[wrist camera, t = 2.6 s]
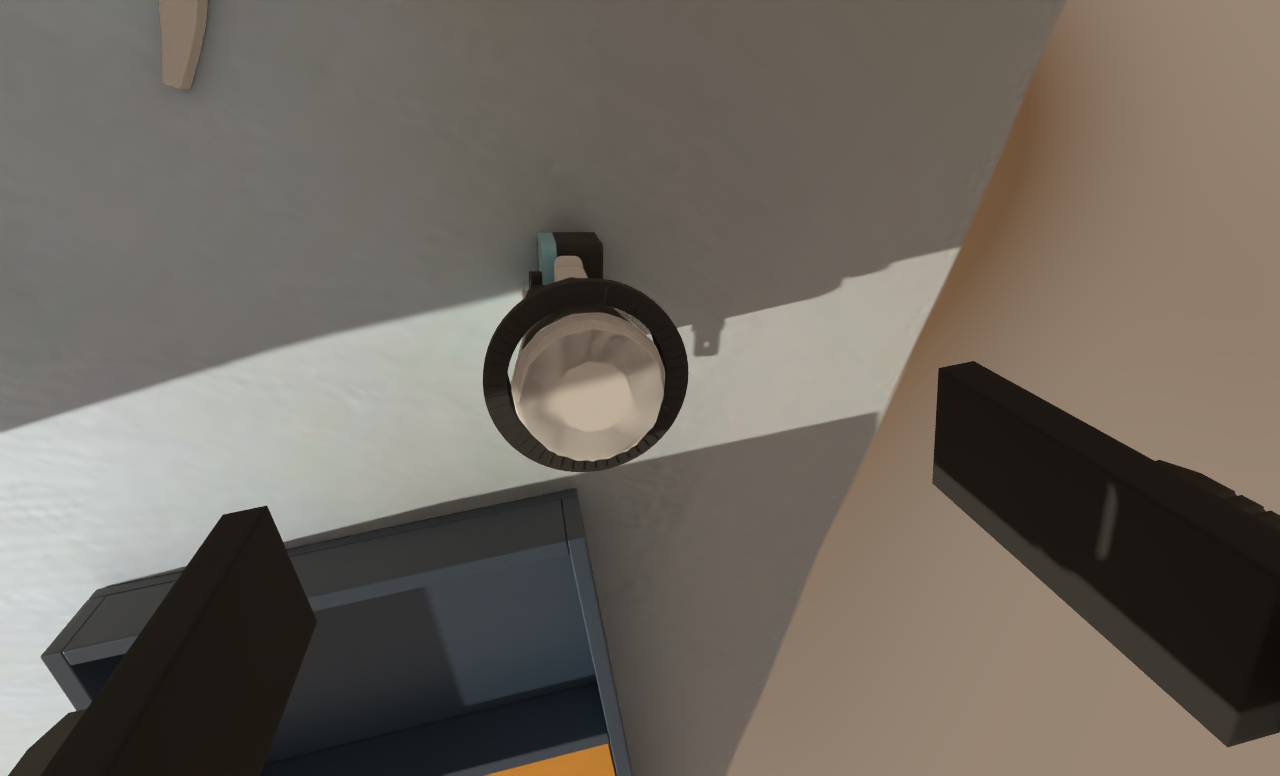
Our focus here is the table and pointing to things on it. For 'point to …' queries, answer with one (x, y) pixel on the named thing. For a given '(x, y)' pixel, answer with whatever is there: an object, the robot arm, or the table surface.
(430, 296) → the table surface
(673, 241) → the table surface
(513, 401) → the push button
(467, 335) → the table surface
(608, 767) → the parts tray
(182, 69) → the pliers
